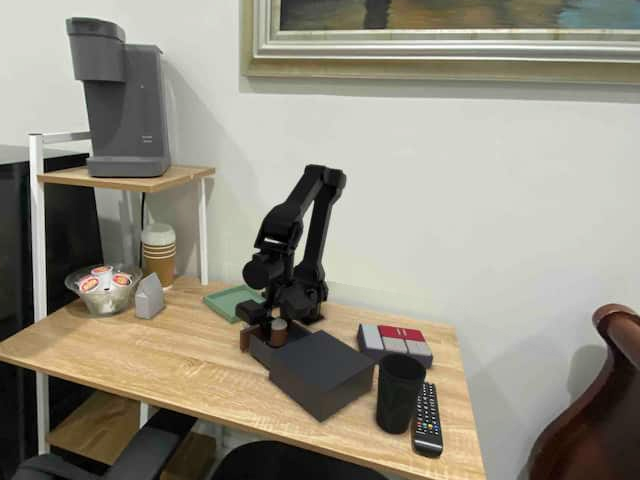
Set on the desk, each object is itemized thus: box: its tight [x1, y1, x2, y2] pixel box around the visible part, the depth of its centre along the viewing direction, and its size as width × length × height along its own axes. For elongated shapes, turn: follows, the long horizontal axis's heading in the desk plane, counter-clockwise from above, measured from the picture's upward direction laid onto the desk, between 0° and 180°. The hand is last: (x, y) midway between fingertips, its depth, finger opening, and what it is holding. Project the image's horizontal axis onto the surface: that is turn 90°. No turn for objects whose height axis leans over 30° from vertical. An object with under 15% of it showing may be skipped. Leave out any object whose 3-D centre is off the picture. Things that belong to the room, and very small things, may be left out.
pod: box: [266, 318, 287, 346], centre depth 86 cm, size 4×4×4 cm
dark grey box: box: [268, 328, 377, 423], centre depth 77 cm, size 15×15×7 cm
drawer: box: [239, 315, 313, 369], centre depth 87 cm, size 18×13×5 cm
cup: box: [375, 353, 428, 435], centre depth 67 cm, size 8×8×12 cm
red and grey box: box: [356, 323, 434, 370], centre depth 90 cm, size 11×4×15 cm
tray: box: [202, 283, 265, 324], centre depth 108 cm, size 14×14×2 cm
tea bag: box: [134, 271, 165, 320], centre depth 100 cm, size 4×7×10 cm, turn 164°
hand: (275, 336), depth 87 cm, fingers closed on pod, 4 cm apart
